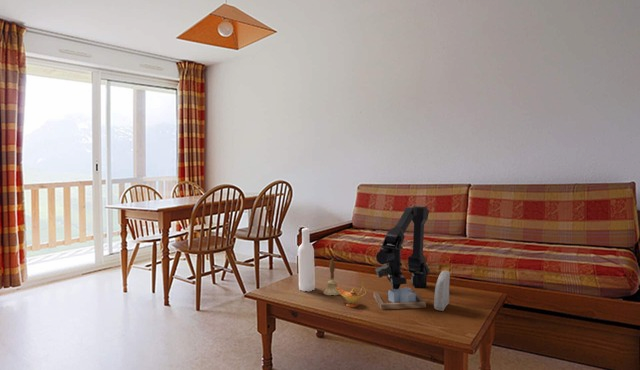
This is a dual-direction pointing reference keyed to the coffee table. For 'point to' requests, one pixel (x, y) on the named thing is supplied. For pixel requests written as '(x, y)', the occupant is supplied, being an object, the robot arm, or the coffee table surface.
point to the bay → (418, 304)
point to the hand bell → (331, 281)
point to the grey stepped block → (401, 295)
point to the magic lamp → (350, 295)
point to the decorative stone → (442, 291)
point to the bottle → (306, 263)
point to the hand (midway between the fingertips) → (394, 294)
